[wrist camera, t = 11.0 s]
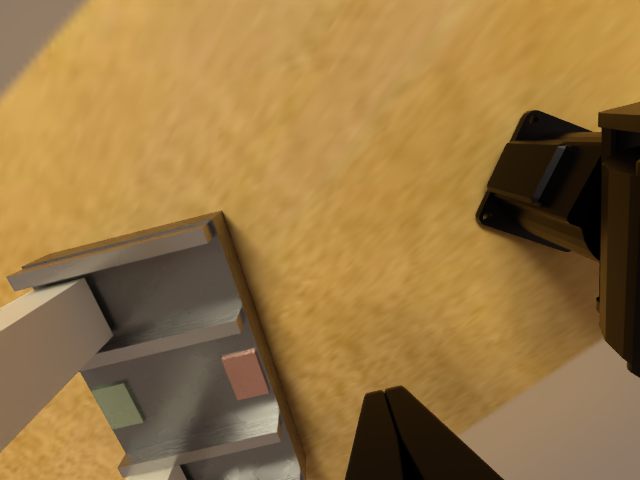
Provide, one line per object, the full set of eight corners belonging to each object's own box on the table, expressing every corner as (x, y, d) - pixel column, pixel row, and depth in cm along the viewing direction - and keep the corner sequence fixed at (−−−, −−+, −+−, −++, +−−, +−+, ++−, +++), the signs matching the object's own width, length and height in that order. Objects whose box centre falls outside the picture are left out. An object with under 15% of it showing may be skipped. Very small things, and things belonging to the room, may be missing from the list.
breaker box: (221, 210, 19) (205, 224, 16) (305, 456, 25) (306, 501, 22) (49, 253, 19) (1, 276, 16) (171, 486, 25) (153, 535, 22)
